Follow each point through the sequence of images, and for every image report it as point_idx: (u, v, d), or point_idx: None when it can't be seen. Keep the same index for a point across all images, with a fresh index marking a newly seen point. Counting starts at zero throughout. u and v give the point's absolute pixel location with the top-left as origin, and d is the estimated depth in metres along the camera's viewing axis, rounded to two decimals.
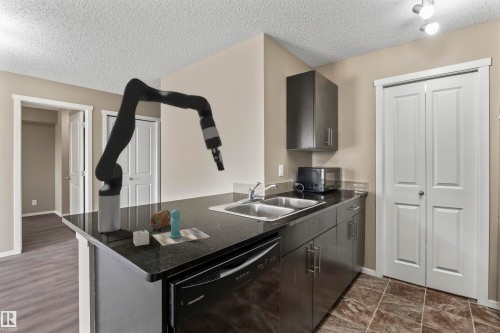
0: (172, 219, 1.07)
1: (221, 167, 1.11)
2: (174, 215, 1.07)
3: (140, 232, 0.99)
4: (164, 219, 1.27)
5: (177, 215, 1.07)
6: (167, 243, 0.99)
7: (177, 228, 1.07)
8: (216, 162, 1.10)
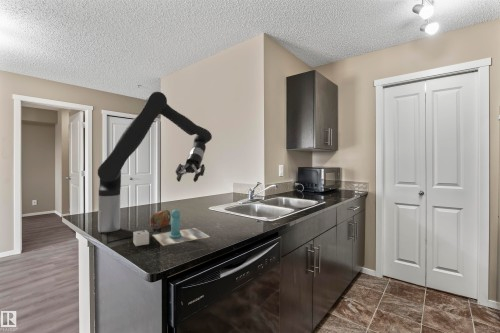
0: (172, 219, 1.07)
1: None
2: (174, 215, 1.07)
3: (140, 232, 0.99)
4: (164, 219, 1.27)
5: (177, 215, 1.07)
6: (167, 243, 0.99)
7: (177, 228, 1.07)
8: (198, 174, 1.21)
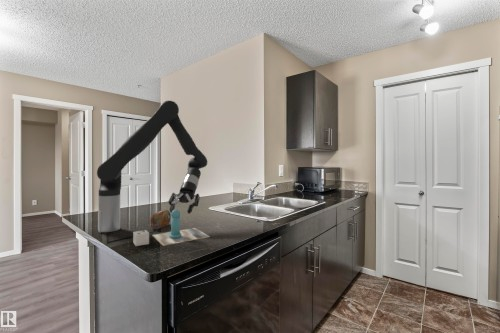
0: (172, 219, 1.07)
1: None
2: (174, 215, 1.07)
3: (140, 232, 0.99)
4: (164, 219, 1.27)
5: (177, 215, 1.07)
6: (167, 243, 0.99)
7: (177, 228, 1.07)
8: (193, 204, 1.14)
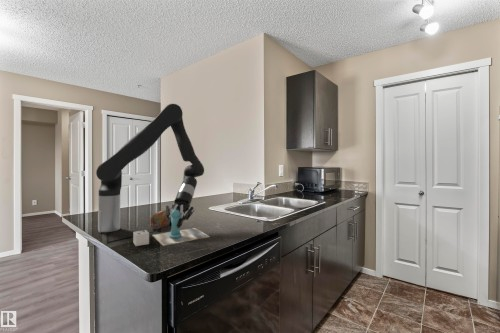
0: (172, 219, 1.07)
1: None
2: (174, 215, 1.07)
3: (140, 232, 0.99)
4: (164, 219, 1.27)
5: (177, 215, 1.07)
6: (167, 243, 0.99)
7: (177, 228, 1.07)
8: (183, 218, 1.08)
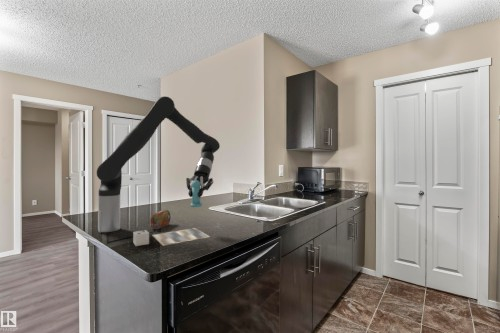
0: (193, 189, 1.12)
1: None
2: (195, 185, 1.12)
3: (140, 232, 0.99)
4: (164, 219, 1.27)
5: (198, 185, 1.12)
6: (167, 243, 0.99)
7: (198, 197, 1.13)
8: (203, 188, 1.14)
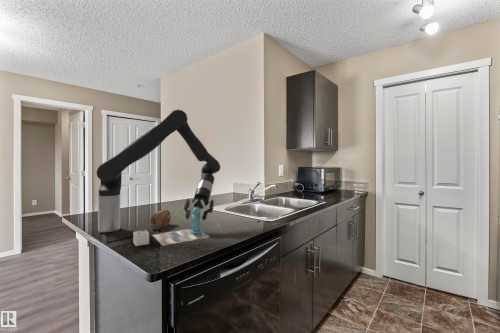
0: (193, 216, 1.13)
1: None
2: (195, 212, 1.13)
3: (140, 232, 0.99)
4: (164, 219, 1.27)
5: (198, 213, 1.13)
6: (167, 243, 0.99)
7: (198, 225, 1.13)
8: (207, 211, 1.14)
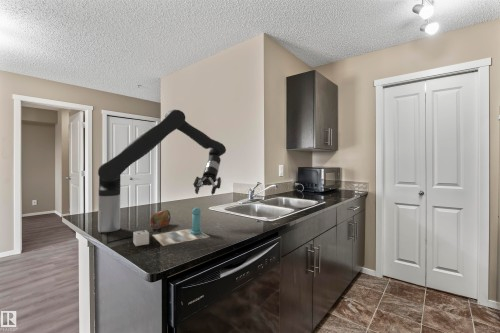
0: (193, 216, 1.13)
1: (213, 192, 1.26)
2: (195, 212, 1.13)
3: (140, 232, 0.99)
4: (164, 219, 1.27)
5: (198, 213, 1.13)
6: (167, 243, 0.99)
7: (198, 225, 1.13)
8: (216, 186, 1.27)
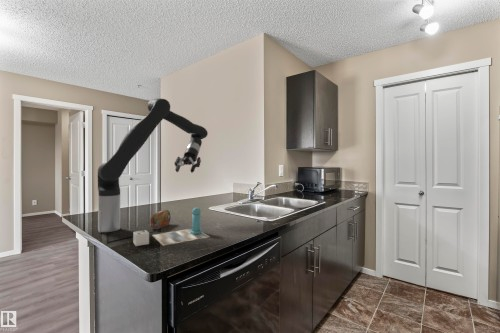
0: (193, 216, 1.13)
1: None
2: (195, 212, 1.13)
3: (140, 232, 0.99)
4: (164, 219, 1.27)
5: (198, 213, 1.13)
6: (167, 243, 0.99)
7: (198, 225, 1.13)
8: (195, 165, 1.35)
